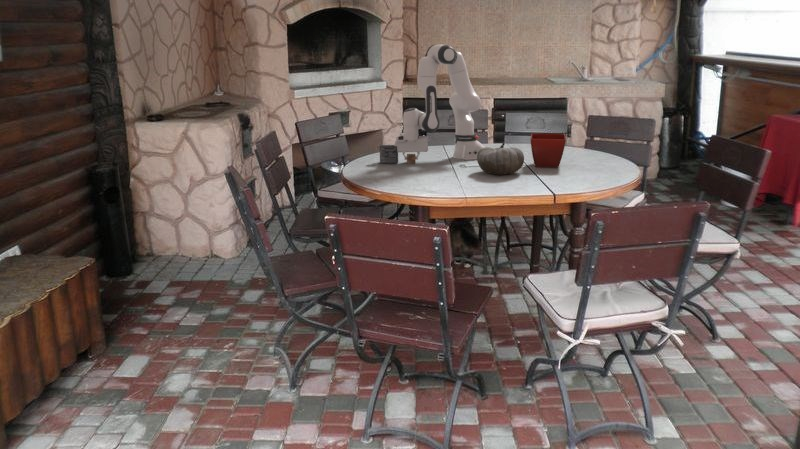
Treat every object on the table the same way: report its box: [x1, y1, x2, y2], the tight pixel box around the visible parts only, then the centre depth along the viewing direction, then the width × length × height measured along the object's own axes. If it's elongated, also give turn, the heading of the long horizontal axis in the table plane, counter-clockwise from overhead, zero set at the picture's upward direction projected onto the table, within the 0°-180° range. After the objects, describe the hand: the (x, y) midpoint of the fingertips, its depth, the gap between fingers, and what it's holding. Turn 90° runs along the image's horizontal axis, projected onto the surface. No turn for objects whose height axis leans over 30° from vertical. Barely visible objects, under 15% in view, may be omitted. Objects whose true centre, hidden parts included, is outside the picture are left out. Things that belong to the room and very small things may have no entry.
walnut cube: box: [406, 153, 417, 165], centre depth 409 cm, size 5×5×5 cm
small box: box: [379, 144, 399, 165], centre depth 410 cm, size 11×6×10 cm, turn 84°
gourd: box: [476, 142, 525, 176], centre depth 376 cm, size 25×25×17 cm
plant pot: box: [530, 132, 567, 169], centre depth 393 cm, size 19×19×17 cm
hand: (411, 159), depth 410 cm, fingers closed on walnut cube, 5 cm apart
